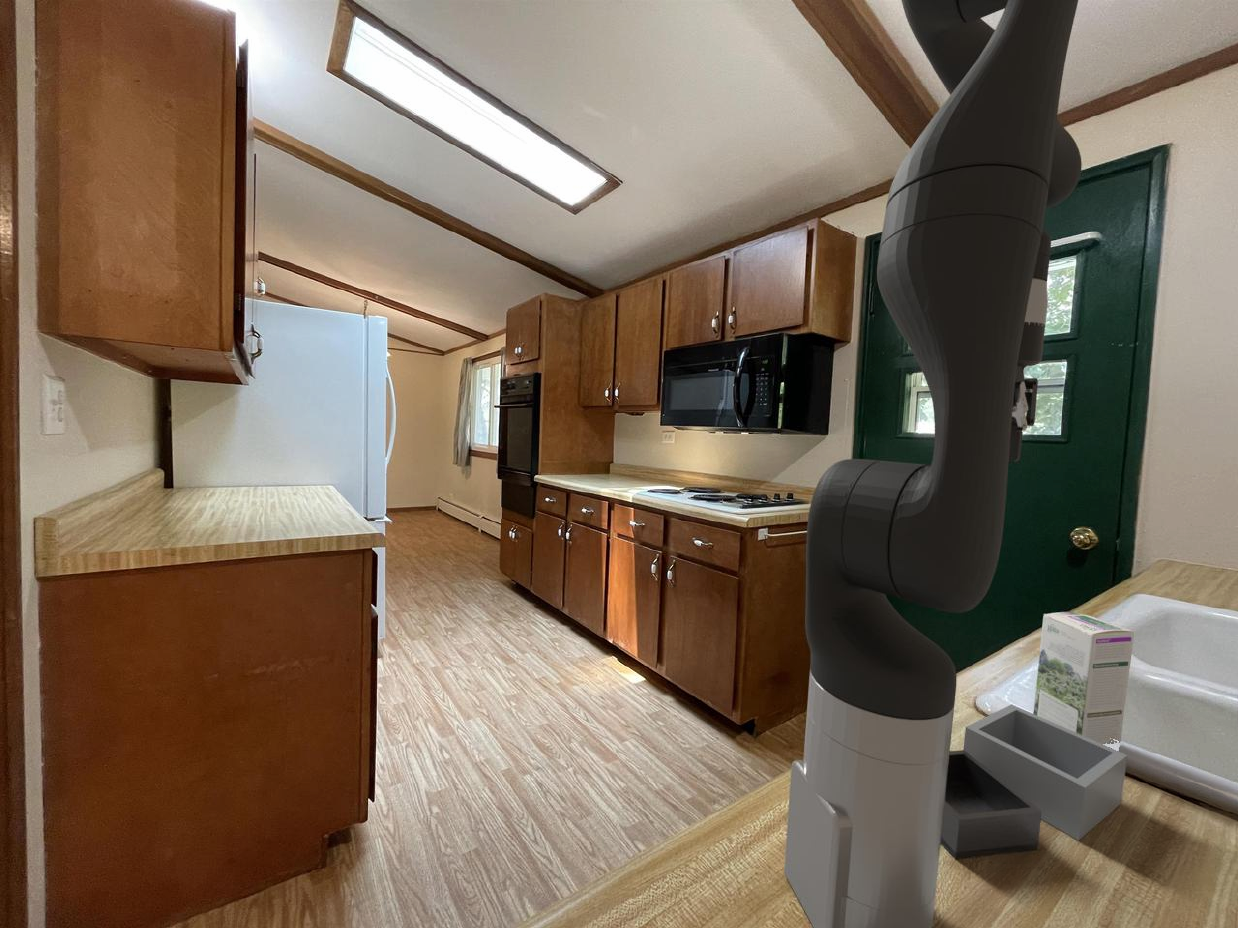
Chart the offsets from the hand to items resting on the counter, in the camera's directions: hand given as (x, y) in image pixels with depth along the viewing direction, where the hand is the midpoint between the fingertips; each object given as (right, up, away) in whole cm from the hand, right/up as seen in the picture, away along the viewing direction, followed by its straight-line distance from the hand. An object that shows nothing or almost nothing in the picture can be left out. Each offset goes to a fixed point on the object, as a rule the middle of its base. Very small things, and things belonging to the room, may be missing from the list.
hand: (990, 460), depth 61 cm
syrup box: (+8, -33, -3) cm, 34 cm away
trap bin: (-14, -33, -15) cm, 39 cm away
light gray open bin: (-3, -33, -11) cm, 35 cm away
